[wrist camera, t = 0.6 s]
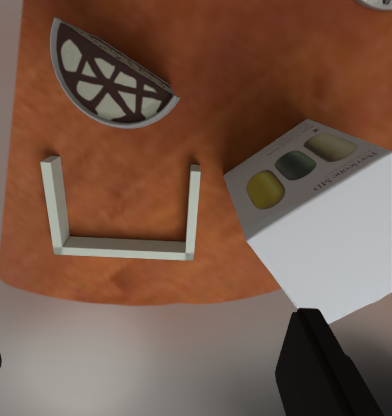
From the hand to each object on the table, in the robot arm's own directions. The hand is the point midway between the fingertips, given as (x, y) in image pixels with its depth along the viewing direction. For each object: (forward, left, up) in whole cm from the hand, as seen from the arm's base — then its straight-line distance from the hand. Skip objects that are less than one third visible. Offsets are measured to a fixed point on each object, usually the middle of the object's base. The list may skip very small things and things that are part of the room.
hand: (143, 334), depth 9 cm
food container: (-6, -6, -32) cm, 33 cm away
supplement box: (+6, +16, -32) cm, 36 cm away
